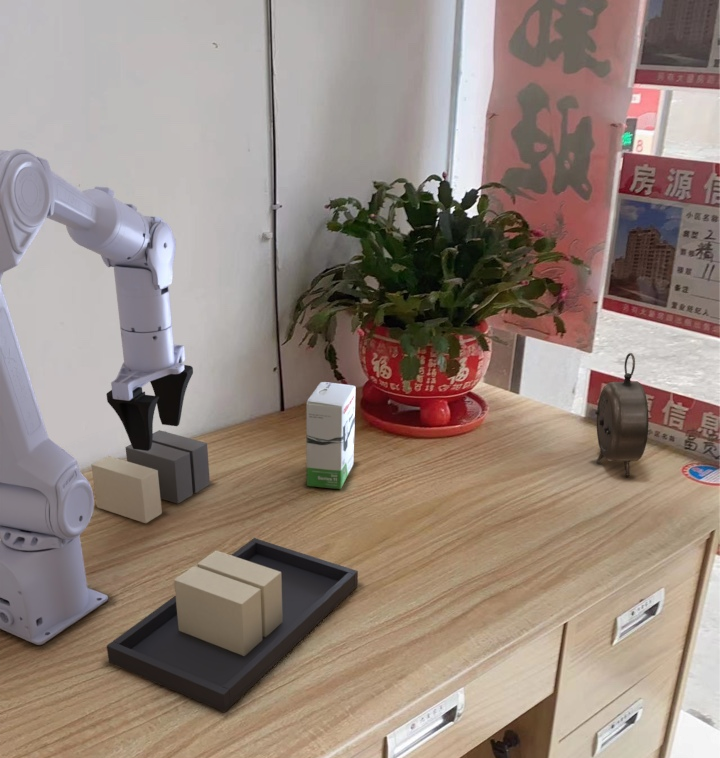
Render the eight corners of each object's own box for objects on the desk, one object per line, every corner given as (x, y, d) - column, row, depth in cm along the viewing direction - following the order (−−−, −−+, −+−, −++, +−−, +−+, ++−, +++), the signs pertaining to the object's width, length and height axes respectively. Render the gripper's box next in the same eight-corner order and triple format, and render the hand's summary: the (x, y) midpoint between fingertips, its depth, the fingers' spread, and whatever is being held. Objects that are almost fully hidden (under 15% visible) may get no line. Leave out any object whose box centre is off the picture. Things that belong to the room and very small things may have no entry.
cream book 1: (244, 656, 84) (241, 604, 81) (178, 630, 87) (173, 579, 84) (262, 640, 86) (260, 588, 83) (197, 615, 89) (193, 565, 86)
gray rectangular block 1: (178, 504, 111) (174, 461, 109) (129, 489, 115) (125, 446, 112) (193, 494, 114) (189, 452, 111) (145, 480, 117) (141, 438, 114)
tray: (224, 712, 77) (223, 694, 76) (108, 662, 83) (106, 645, 82) (357, 586, 96) (358, 570, 95) (254, 552, 101) (254, 537, 100)
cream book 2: (265, 637, 86) (263, 586, 83) (200, 613, 90) (196, 563, 87) (282, 622, 89) (281, 571, 86) (219, 599, 92) (215, 549, 89)
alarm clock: (641, 481, 120) (663, 367, 112) (601, 480, 120) (621, 366, 112) (621, 448, 130) (640, 341, 122) (585, 447, 130) (601, 340, 122)
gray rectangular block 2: (195, 493, 114) (192, 451, 111) (148, 479, 117) (143, 437, 115) (210, 484, 116) (207, 443, 114) (163, 470, 120) (159, 430, 117)
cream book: (145, 523, 107) (141, 479, 104) (96, 507, 110) (90, 464, 107) (162, 513, 109) (157, 470, 106) (113, 498, 112) (108, 455, 110)
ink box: (341, 490, 116) (342, 405, 110) (305, 486, 116) (304, 402, 111) (355, 463, 123) (356, 382, 118) (320, 459, 124) (320, 379, 118)
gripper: (149, 347, 93) (160, 464, 99) (205, 312, 105) (211, 418, 111) (88, 341, 94) (103, 457, 101) (150, 306, 106) (160, 411, 113)
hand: (156, 436), depth 106 cm, fingers open, 7 cm apart
